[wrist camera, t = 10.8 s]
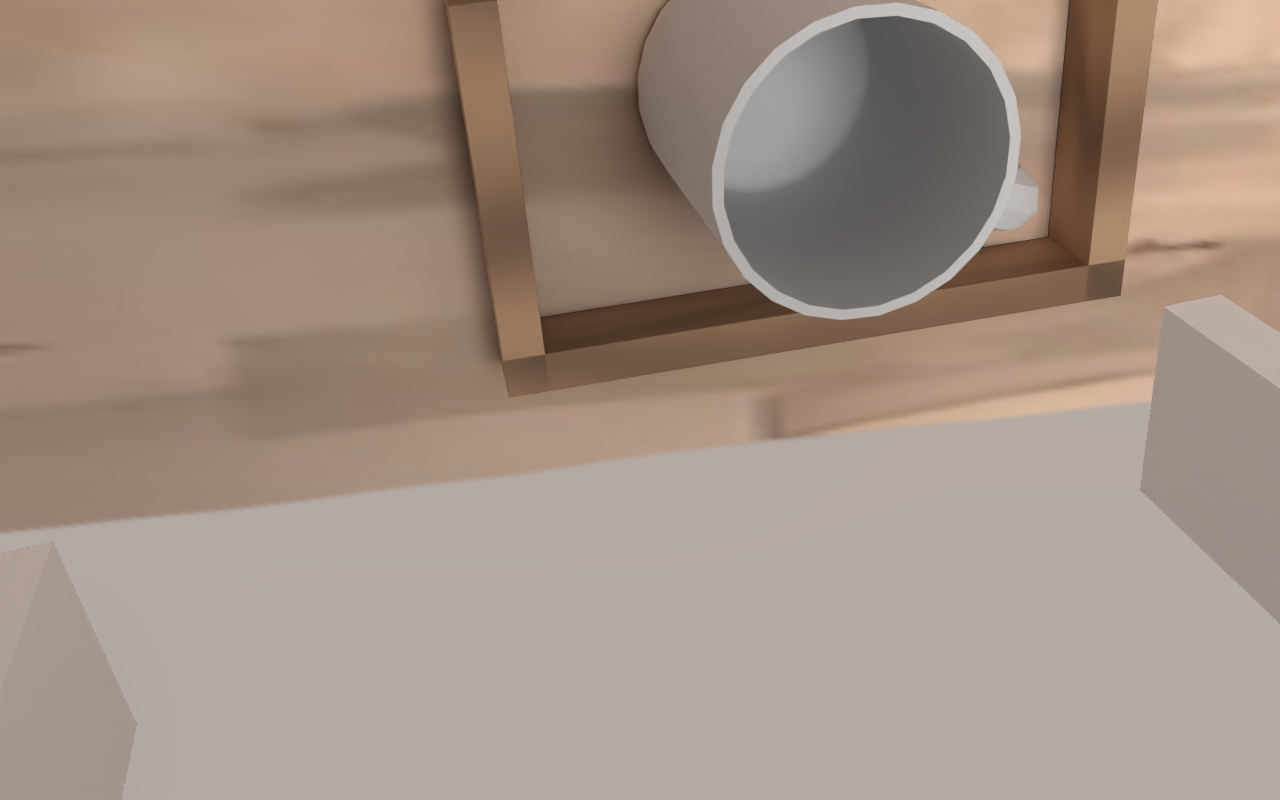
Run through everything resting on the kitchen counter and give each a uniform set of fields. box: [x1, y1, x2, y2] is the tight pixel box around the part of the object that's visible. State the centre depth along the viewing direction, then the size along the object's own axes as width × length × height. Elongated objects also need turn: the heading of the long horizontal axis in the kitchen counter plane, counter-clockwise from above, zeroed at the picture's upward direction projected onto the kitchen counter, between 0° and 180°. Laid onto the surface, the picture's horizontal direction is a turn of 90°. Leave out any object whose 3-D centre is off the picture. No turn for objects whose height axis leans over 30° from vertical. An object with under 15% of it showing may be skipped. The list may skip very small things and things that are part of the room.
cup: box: [638, 0, 1039, 320], centre depth 31 cm, size 7×10×9 cm
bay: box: [445, 0, 1158, 398], centre depth 34 cm, size 11×19×2 cm, turn 95°
